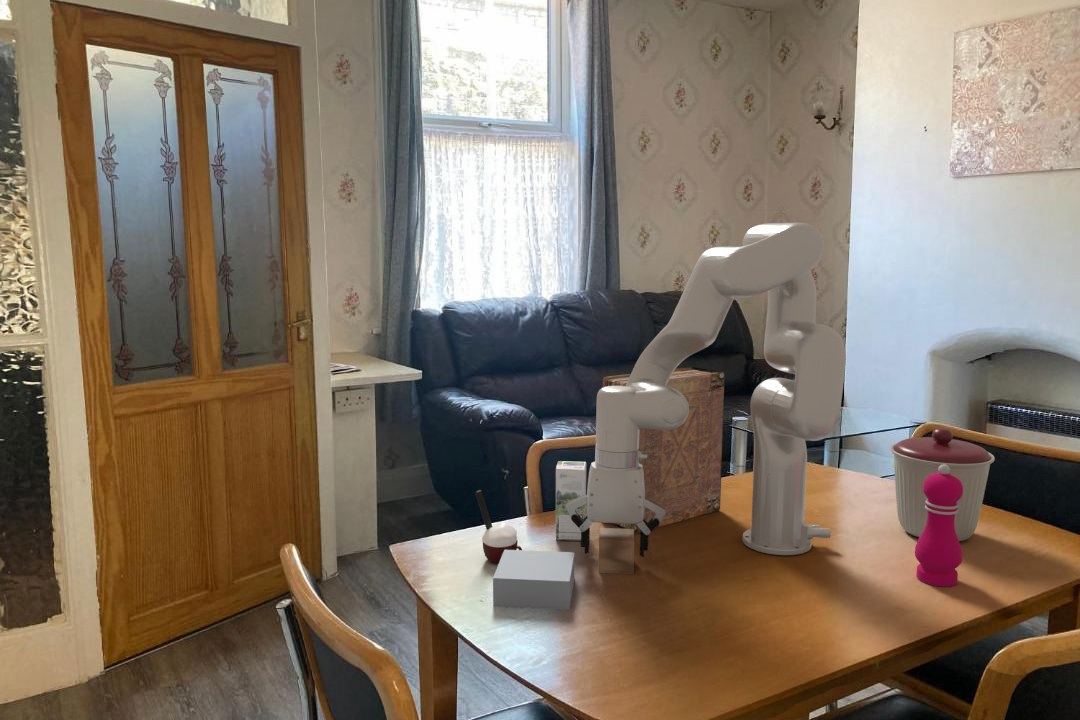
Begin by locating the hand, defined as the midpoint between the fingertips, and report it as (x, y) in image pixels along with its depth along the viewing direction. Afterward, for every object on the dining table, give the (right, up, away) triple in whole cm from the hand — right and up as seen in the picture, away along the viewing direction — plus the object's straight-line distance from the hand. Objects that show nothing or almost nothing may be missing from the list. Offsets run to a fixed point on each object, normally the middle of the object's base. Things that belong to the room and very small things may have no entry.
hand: (614, 552), depth 143 cm
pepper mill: (+54, -4, -5) cm, 54 cm away
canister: (+65, 0, +17) cm, 67 cm away
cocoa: (-20, -2, +4) cm, 21 cm away
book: (+12, +1, +27) cm, 30 cm away
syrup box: (-7, -1, +15) cm, 17 cm away
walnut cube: (0, -3, 0) cm, 3 cm away
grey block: (-14, -4, -10) cm, 18 cm away
